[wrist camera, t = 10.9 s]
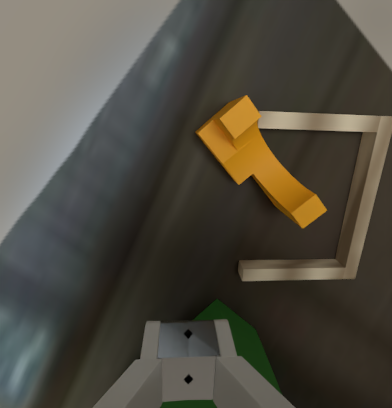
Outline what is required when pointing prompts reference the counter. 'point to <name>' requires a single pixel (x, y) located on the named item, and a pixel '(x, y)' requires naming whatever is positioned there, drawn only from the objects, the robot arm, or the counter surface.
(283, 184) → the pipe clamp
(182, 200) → the counter surface
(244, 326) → the hardback book
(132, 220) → the counter surface
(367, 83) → the counter surface
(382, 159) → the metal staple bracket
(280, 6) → the counter surface
